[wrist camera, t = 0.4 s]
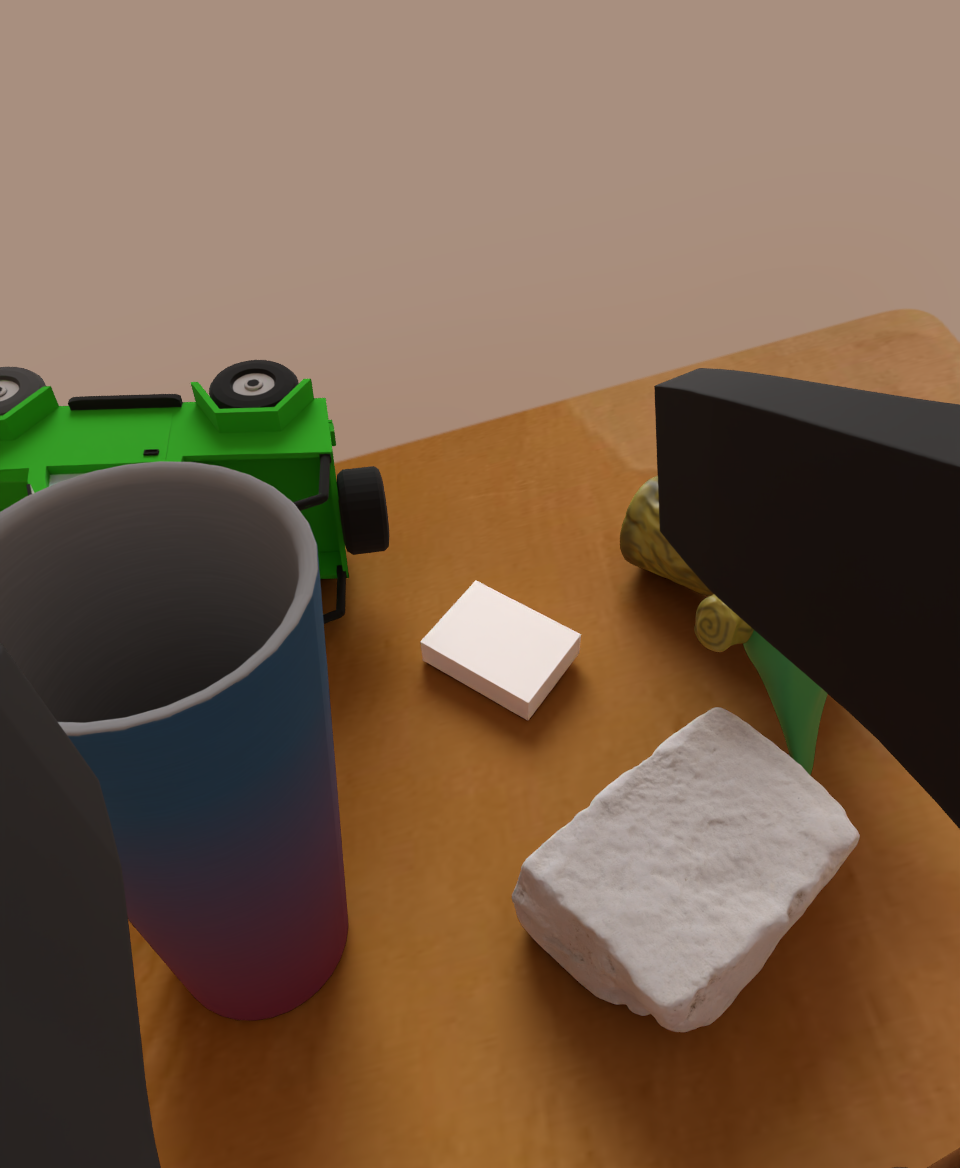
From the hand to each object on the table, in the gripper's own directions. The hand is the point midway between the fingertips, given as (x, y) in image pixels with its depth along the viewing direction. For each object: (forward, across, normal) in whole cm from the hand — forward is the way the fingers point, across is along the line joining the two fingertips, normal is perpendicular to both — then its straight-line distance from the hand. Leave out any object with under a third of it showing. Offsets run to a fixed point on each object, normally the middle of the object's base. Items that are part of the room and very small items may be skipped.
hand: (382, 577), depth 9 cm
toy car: (+28, +1, +10) cm, 30 cm away
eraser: (+12, -6, +16) cm, 21 cm away
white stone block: (+4, -7, +21) cm, 22 cm away
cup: (+9, +5, +18) cm, 21 cm away
